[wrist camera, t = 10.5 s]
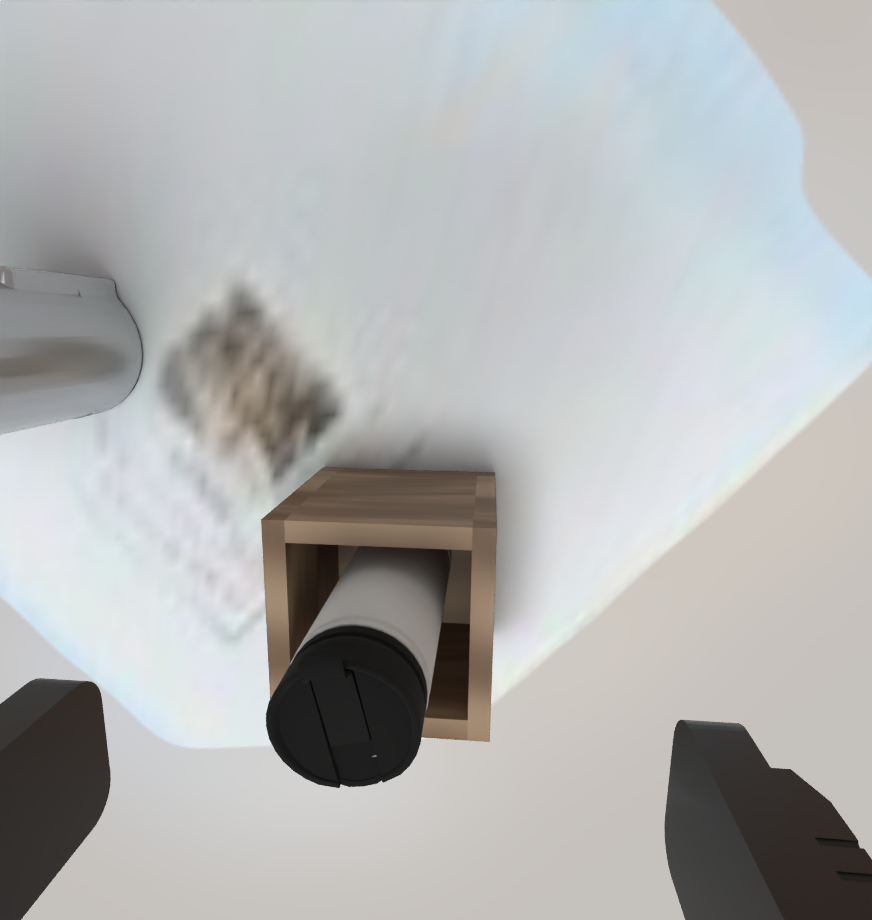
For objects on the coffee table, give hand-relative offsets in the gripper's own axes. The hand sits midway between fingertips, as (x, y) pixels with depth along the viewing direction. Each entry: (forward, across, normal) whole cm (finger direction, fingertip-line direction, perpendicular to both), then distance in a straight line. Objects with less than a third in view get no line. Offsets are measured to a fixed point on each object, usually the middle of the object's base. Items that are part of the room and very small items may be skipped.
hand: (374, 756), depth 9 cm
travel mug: (+33, +4, +10) cm, 35 cm away
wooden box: (+34, +4, +10) cm, 36 cm away
